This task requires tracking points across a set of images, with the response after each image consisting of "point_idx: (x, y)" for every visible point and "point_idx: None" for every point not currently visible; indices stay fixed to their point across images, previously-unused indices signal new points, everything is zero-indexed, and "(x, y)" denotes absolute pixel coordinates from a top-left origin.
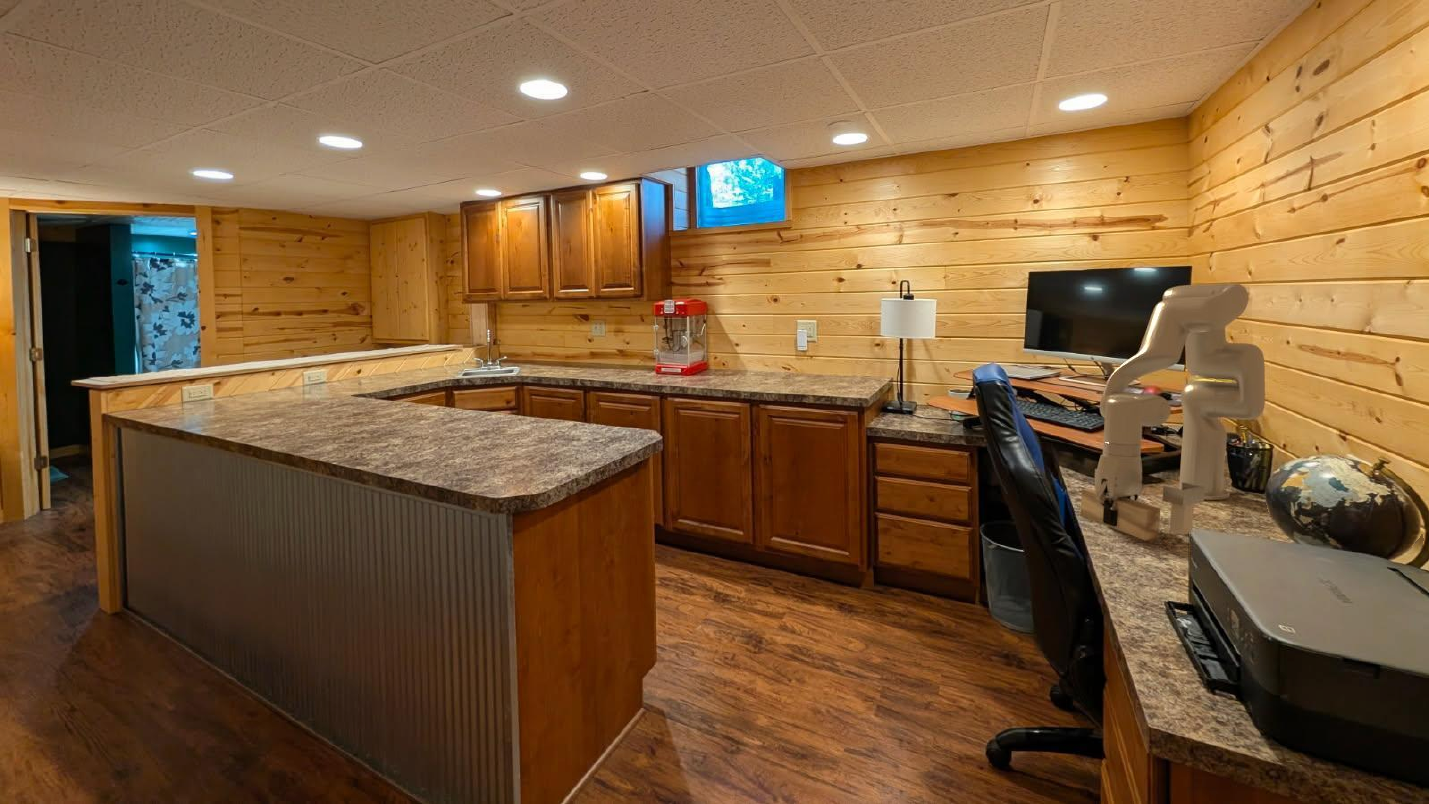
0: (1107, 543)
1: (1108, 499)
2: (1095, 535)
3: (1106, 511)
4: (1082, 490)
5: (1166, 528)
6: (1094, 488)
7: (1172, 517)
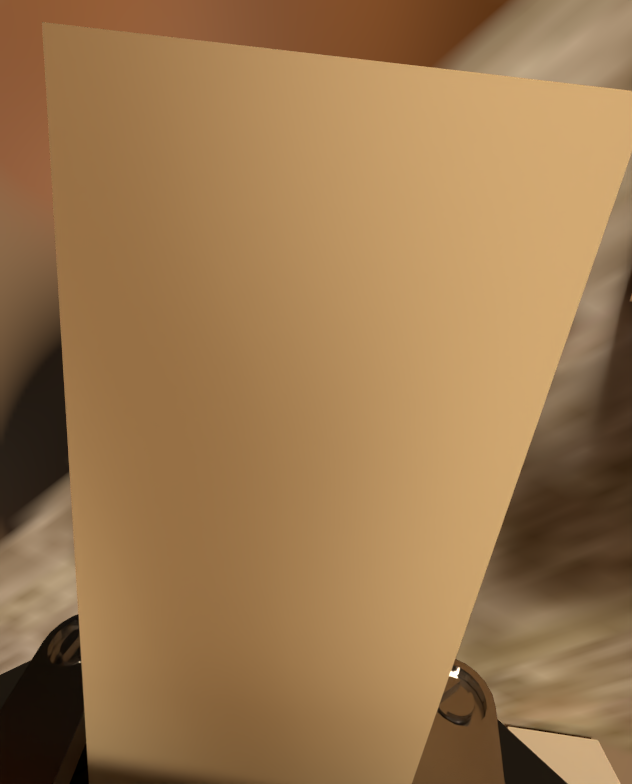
0: (14, 632)
1: (72, 766)
2: (41, 540)
3: None
4: (67, 85)
5: (561, 688)
6: (541, 164)
7: None
